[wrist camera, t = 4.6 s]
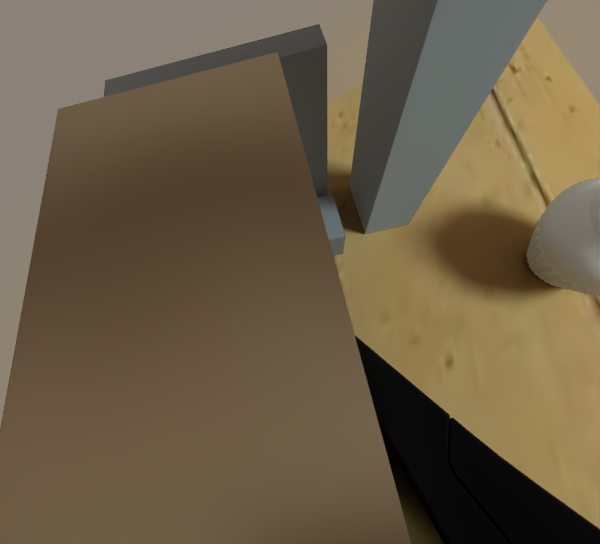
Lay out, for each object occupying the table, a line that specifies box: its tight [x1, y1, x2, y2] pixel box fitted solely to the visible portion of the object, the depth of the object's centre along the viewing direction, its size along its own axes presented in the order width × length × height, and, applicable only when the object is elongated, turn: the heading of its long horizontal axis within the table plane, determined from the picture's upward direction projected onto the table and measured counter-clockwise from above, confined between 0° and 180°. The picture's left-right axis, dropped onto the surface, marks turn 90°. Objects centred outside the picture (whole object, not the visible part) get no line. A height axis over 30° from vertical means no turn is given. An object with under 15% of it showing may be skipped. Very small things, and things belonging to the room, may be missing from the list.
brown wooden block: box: [0, 52, 411, 544], centre depth 9 cm, size 8×4×12 cm, turn 12°
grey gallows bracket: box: [104, 0, 547, 255], centre depth 10 cm, size 6×13×16 cm, turn 102°
